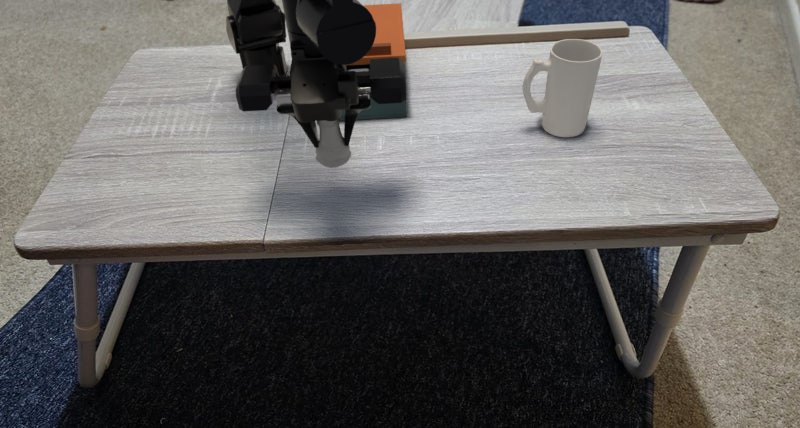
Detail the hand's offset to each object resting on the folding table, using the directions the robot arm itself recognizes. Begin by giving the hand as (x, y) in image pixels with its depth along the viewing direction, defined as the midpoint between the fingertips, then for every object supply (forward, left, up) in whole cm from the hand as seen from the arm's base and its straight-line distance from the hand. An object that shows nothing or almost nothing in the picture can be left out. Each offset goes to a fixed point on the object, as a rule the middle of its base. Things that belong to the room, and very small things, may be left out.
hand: (331, 145), depth 71 cm
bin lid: (+4, +34, -2) cm, 34 cm away
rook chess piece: (0, 0, -2) cm, 2 cm away
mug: (+31, +12, -8) cm, 34 cm away
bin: (+4, +26, -7) cm, 27 cm away
